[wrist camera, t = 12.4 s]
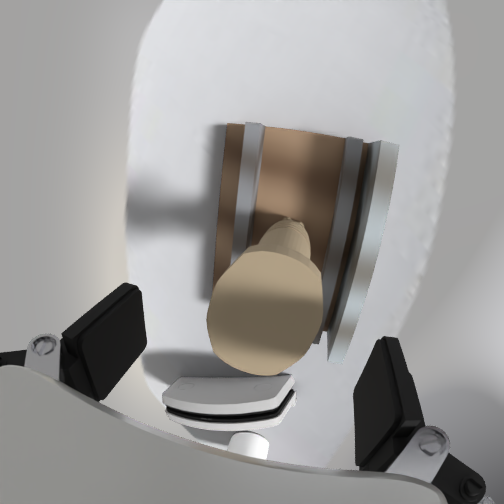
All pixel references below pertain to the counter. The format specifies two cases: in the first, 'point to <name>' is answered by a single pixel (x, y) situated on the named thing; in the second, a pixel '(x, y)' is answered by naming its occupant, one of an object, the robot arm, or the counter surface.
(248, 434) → the can
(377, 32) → the counter surface
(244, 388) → the grey curved slotted block
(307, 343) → the handle
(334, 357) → the track
